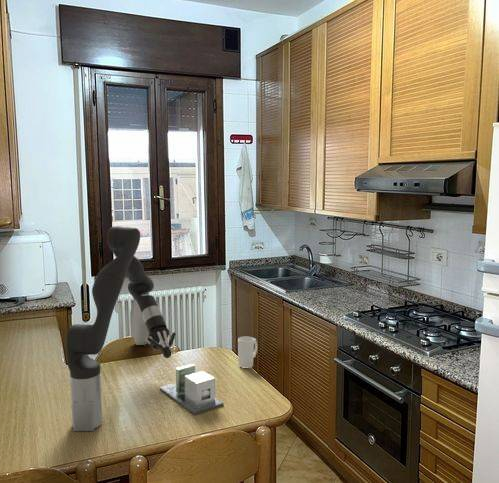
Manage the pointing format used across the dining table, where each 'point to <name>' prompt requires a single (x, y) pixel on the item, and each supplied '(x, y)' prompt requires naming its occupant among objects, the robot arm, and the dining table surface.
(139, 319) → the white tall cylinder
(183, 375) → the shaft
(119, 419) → the dining table surface
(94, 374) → the robot arm
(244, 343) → the mug
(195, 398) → the bearing block
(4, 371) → the dining table surface
